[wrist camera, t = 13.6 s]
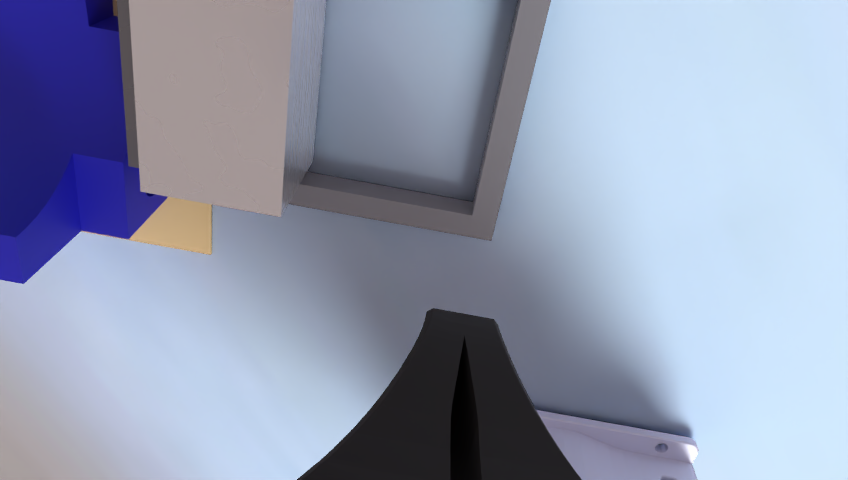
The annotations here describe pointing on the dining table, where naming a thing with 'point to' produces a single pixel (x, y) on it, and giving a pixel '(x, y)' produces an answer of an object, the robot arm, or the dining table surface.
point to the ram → (221, 97)
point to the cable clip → (62, 132)
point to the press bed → (193, 220)
